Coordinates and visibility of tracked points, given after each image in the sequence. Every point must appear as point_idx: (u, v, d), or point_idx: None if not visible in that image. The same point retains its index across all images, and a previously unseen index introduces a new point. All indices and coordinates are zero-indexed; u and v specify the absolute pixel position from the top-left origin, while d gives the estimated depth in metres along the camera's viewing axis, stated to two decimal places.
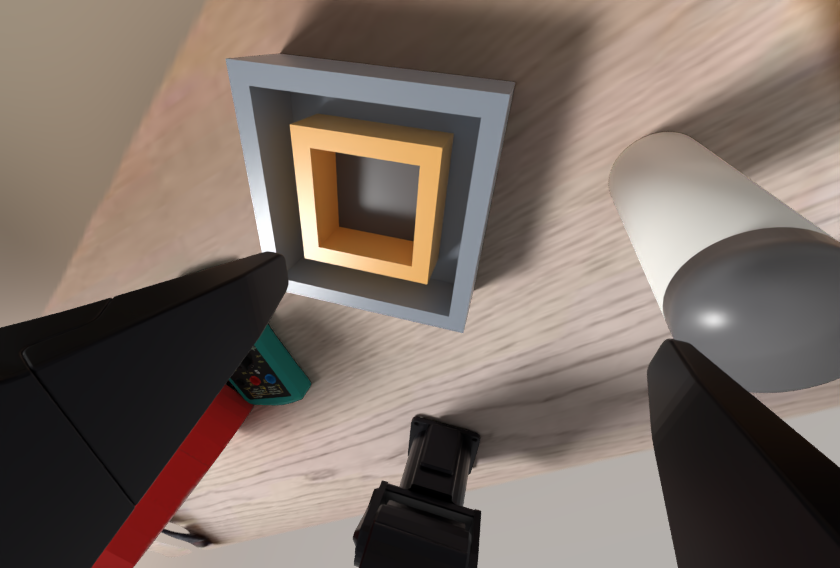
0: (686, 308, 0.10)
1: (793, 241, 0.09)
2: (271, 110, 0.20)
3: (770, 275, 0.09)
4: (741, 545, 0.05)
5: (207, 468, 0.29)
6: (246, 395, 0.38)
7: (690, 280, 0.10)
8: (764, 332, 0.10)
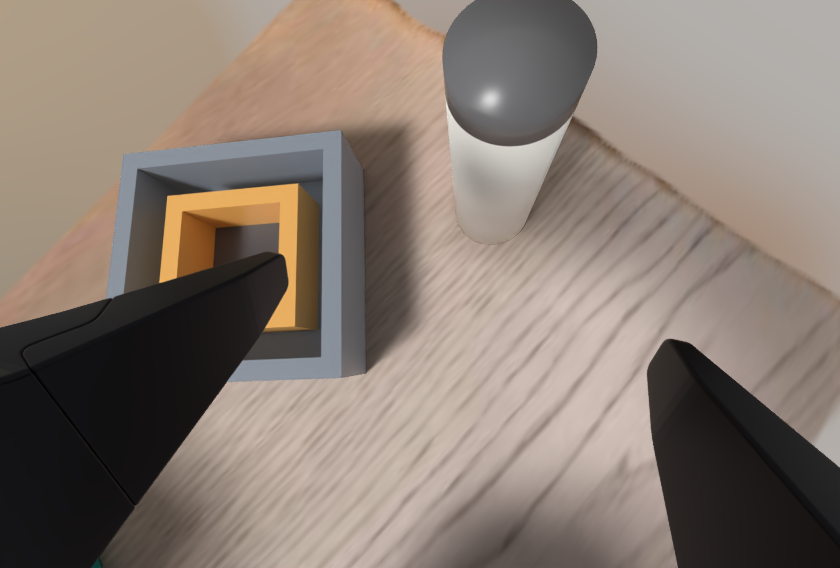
0: None
1: None
2: (156, 201, 0.23)
3: (478, 11, 0.11)
4: (741, 545, 0.05)
5: None
6: None
7: None
8: (507, 53, 0.11)
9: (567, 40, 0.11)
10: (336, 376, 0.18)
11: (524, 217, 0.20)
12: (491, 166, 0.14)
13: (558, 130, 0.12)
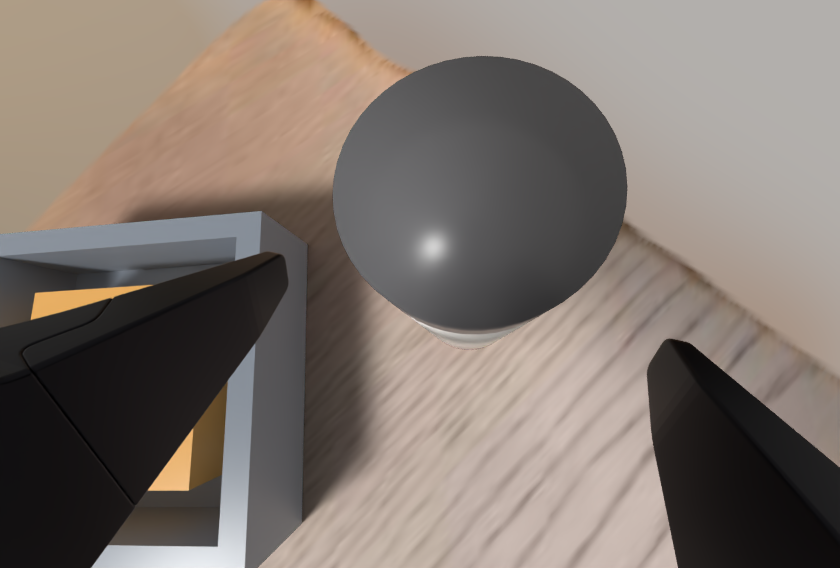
0: (334, 190, 0.06)
1: None
2: (30, 292, 0.17)
3: (403, 103, 0.06)
4: (741, 545, 0.05)
5: None
6: None
7: None
8: (454, 189, 0.06)
9: (568, 167, 0.06)
10: None
11: None
12: (444, 334, 0.08)
13: None
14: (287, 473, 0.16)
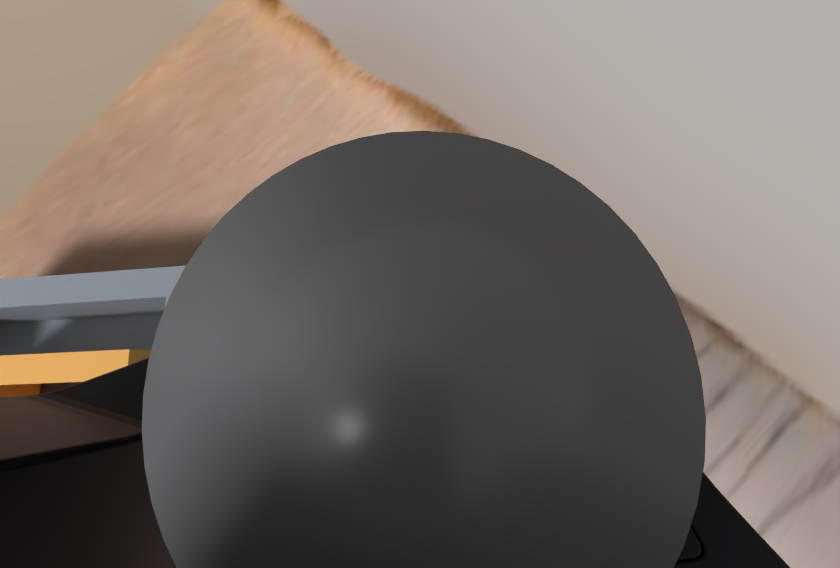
0: (150, 383, 0.03)
1: None
2: None
3: (280, 218, 0.03)
4: None
5: None
6: None
7: None
8: (362, 400, 0.03)
9: (584, 368, 0.03)
10: None
11: None
12: None
13: None
14: None
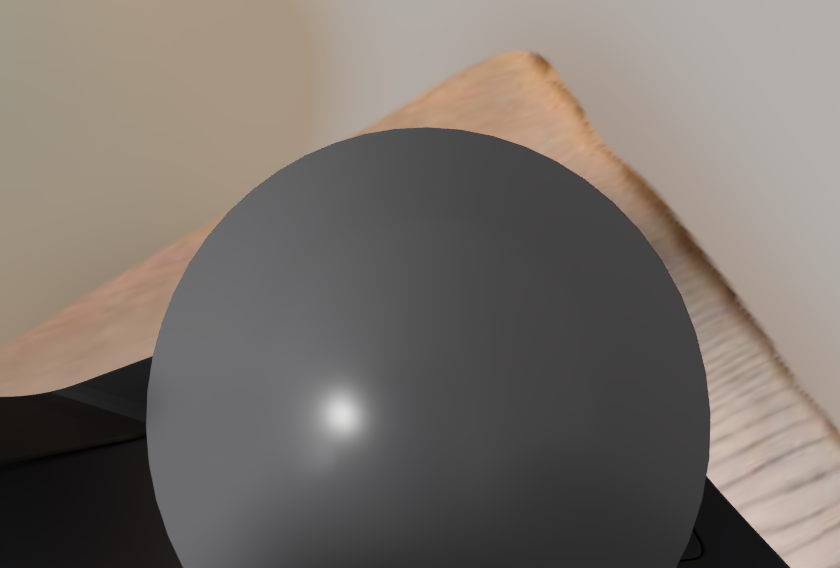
0: (154, 378, 0.03)
1: None
2: None
3: (284, 214, 0.03)
4: None
5: None
6: None
7: None
8: (367, 396, 0.03)
9: (588, 364, 0.03)
10: None
11: None
12: None
13: None
14: None
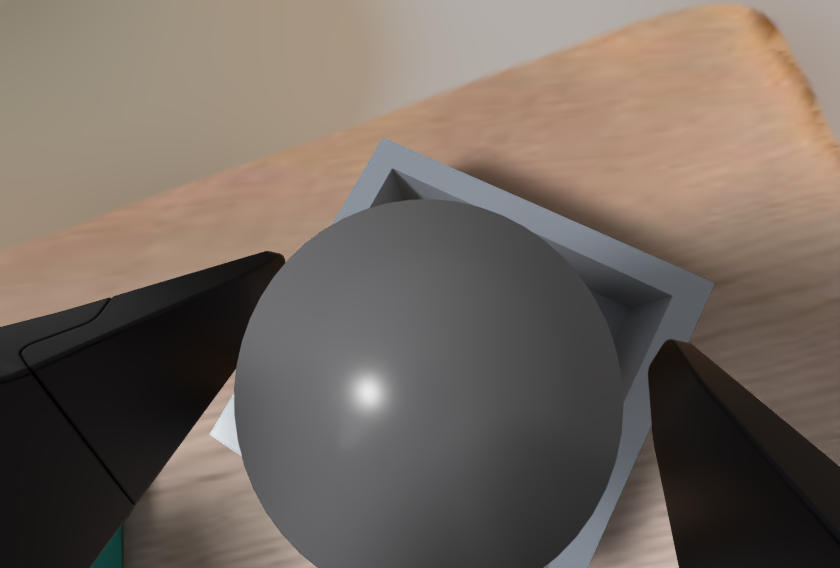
0: (238, 380, 0.05)
1: None
2: None
3: (329, 262, 0.05)
4: (742, 545, 0.05)
5: None
6: None
7: None
8: (391, 392, 0.04)
9: (543, 370, 0.04)
10: None
11: None
12: None
13: None
14: None
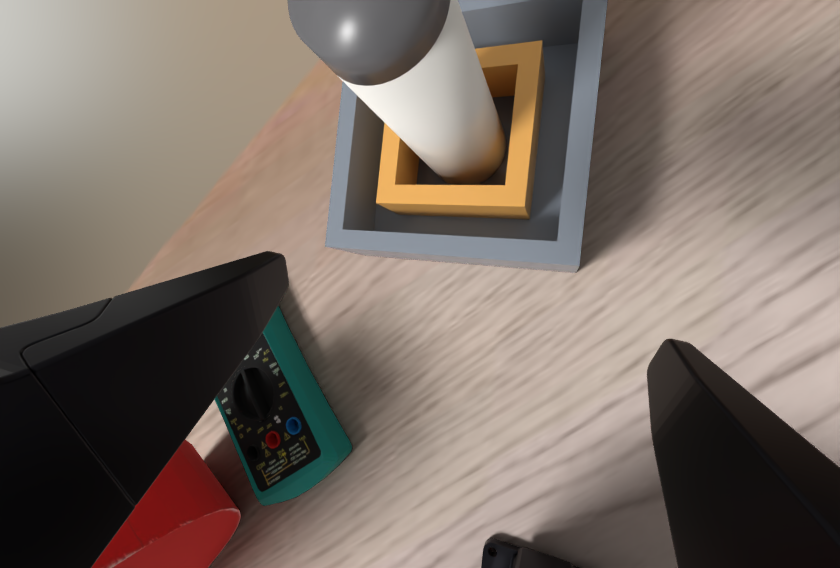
0: (293, 24, 0.11)
1: None
2: None
3: None
4: (741, 545, 0.05)
5: (139, 547, 0.17)
6: (258, 484, 0.25)
7: None
8: None
9: None
10: (573, 263, 0.16)
11: (494, 140, 0.18)
12: (405, 105, 0.13)
13: (442, 32, 0.11)
14: None
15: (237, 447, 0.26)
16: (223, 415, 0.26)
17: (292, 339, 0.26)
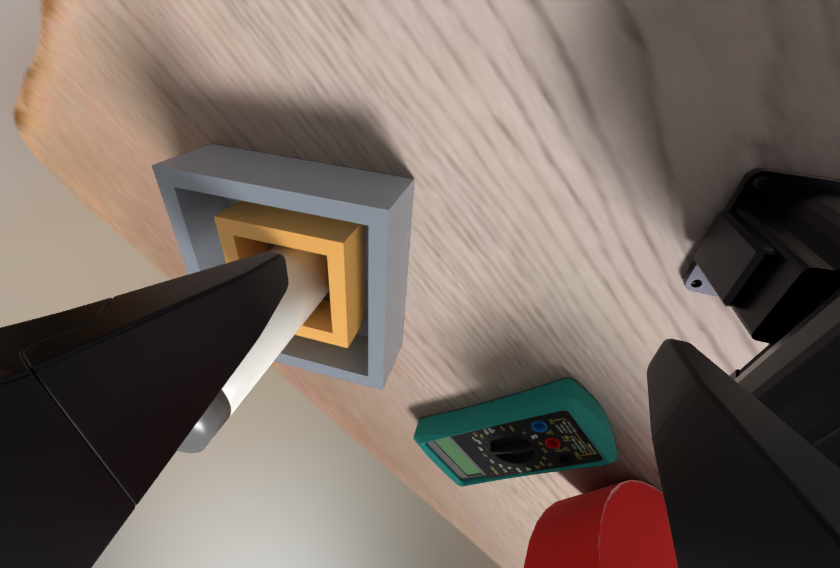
0: (193, 451, 0.16)
1: None
2: None
3: None
4: (741, 545, 0.05)
5: None
6: (596, 460, 0.27)
7: None
8: None
9: None
10: (387, 214, 0.18)
11: (292, 258, 0.22)
12: (247, 371, 0.17)
13: None
14: (362, 180, 0.20)
15: (560, 469, 0.29)
16: (531, 473, 0.30)
17: (469, 409, 0.30)
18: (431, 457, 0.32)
